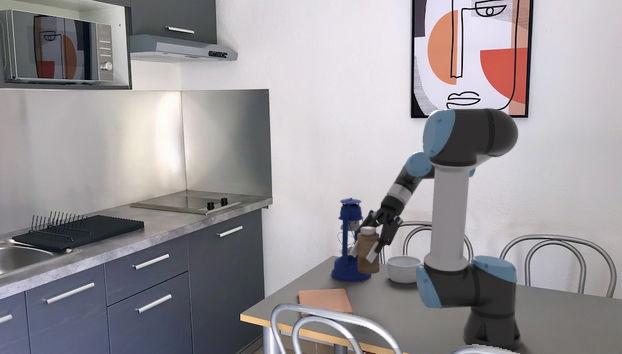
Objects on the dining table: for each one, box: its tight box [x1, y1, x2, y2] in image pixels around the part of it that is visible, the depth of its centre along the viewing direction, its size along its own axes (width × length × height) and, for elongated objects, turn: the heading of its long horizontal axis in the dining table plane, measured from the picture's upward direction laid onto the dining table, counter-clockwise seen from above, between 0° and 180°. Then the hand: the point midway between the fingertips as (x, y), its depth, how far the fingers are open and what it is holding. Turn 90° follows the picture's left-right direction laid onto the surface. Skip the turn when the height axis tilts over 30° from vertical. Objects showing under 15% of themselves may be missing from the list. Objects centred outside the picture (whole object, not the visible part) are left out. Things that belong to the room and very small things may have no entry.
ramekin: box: [385, 254, 423, 284], centre depth 198 cm, size 13×13×7 cm
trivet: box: [298, 288, 354, 317], centre depth 175 cm, size 20×16×2 cm
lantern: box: [331, 197, 372, 283], centre depth 201 cm, size 17×15×30 cm
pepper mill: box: [357, 227, 380, 275], centre depth 172 cm, size 7×7×14 cm
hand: (360, 257), depth 170 cm, fingers closed on pepper mill, 7 cm apart
